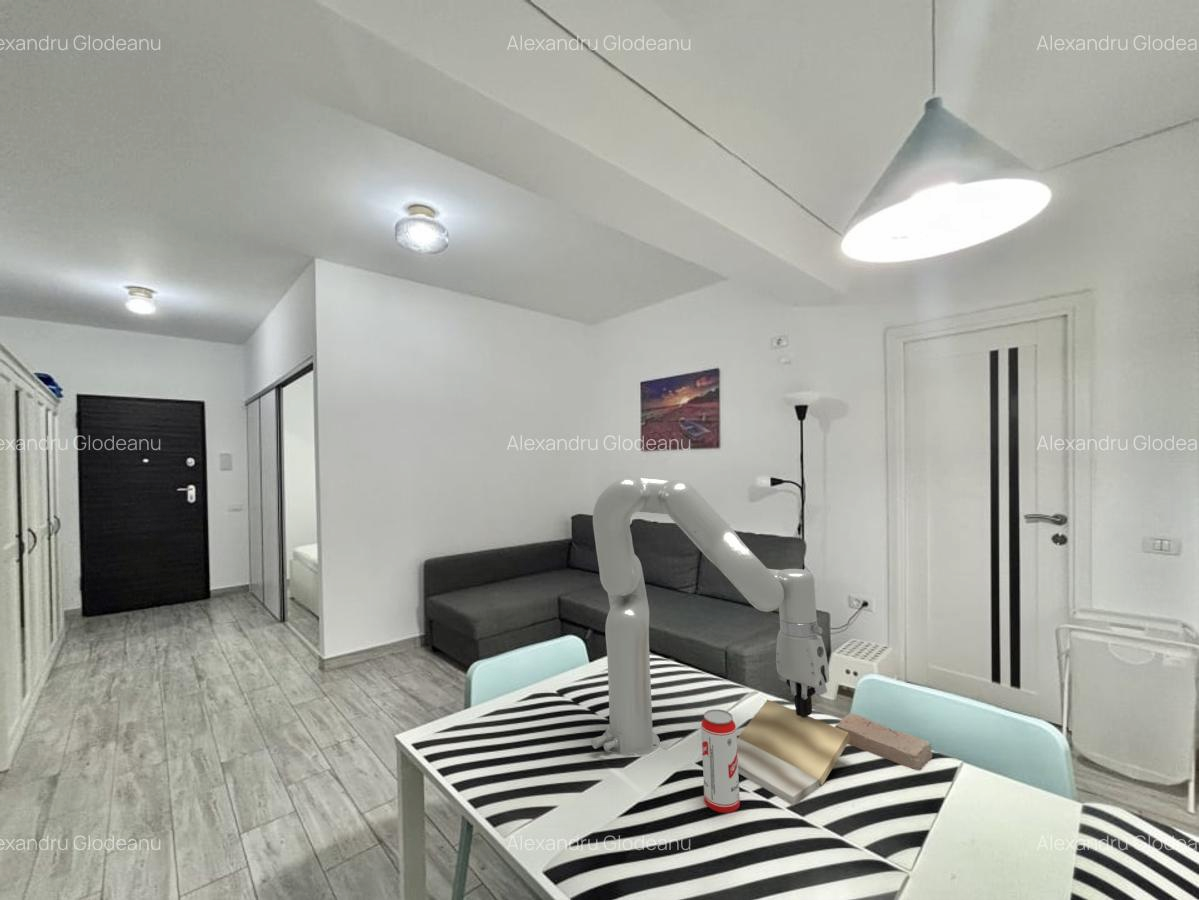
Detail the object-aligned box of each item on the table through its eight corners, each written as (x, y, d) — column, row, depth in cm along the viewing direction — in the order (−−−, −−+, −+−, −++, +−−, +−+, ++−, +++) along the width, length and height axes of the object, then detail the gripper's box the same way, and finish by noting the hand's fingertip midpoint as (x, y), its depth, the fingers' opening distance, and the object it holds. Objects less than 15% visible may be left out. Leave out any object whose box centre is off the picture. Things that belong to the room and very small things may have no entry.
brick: (934, 762, 100) (932, 738, 101) (919, 779, 95) (917, 754, 95) (851, 732, 113) (850, 711, 114) (834, 745, 108) (833, 723, 108)
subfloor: (793, 815, 86) (792, 800, 86) (706, 763, 102) (706, 751, 102) (862, 765, 100) (862, 753, 100) (777, 726, 116) (776, 716, 116)
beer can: (741, 799, 90) (737, 710, 91) (739, 822, 84) (734, 726, 85) (706, 793, 92) (702, 706, 93) (702, 815, 87) (698, 721, 88)
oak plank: (821, 785, 92) (819, 779, 92) (740, 742, 107) (737, 737, 107) (850, 738, 99) (848, 732, 98) (769, 704, 114) (767, 699, 114)
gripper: (841, 632, 103) (847, 722, 102) (779, 617, 115) (783, 697, 114) (821, 639, 98) (827, 734, 97) (758, 623, 111) (763, 707, 109)
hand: (803, 714), depth 106 cm, fingers closed
